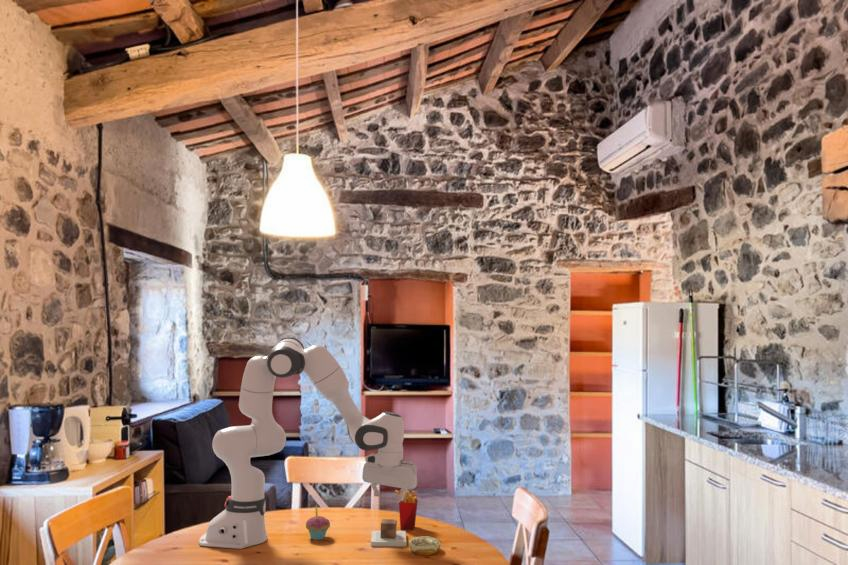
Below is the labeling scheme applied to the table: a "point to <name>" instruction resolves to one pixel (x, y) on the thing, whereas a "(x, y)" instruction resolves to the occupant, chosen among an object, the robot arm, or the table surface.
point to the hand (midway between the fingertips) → (388, 498)
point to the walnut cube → (388, 528)
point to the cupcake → (317, 526)
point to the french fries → (408, 510)
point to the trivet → (388, 539)
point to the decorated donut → (424, 545)
